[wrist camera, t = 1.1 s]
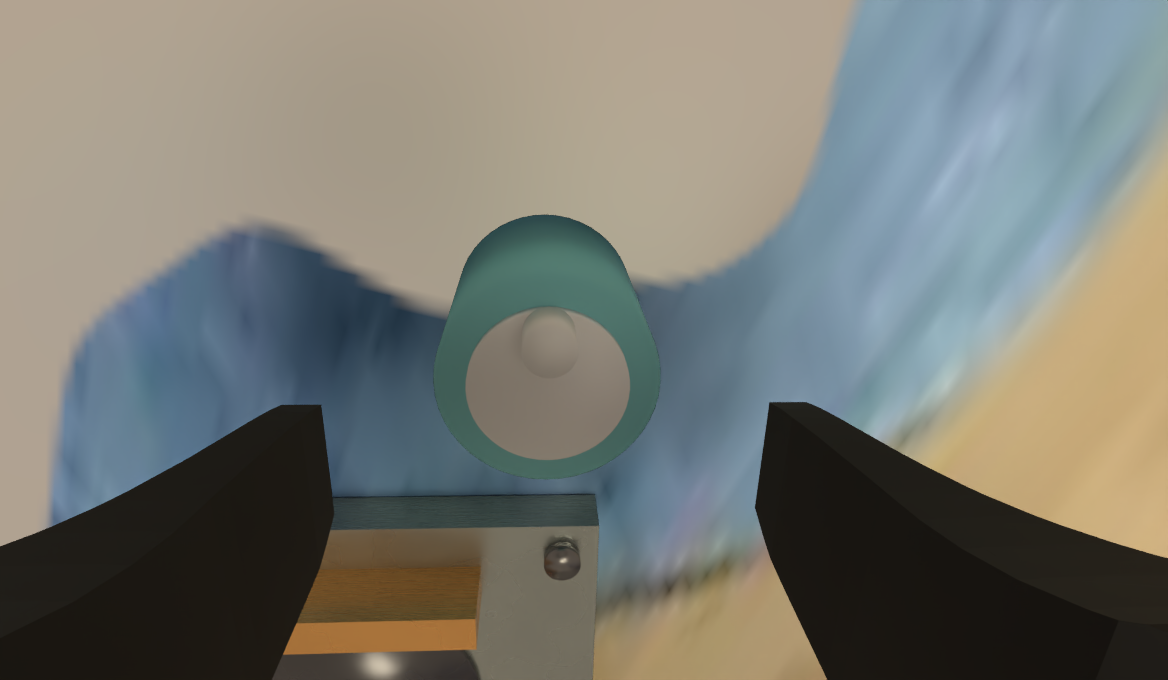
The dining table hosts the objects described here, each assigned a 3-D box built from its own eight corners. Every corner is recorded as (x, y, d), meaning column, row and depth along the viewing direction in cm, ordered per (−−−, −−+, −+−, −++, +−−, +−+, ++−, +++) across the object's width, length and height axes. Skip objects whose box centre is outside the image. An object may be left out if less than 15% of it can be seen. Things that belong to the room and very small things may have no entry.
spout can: (626, 377, 20) (663, 514, 14) (461, 378, 20) (430, 518, 14) (634, 216, 18) (681, 297, 13) (454, 213, 18) (416, 295, 12)
